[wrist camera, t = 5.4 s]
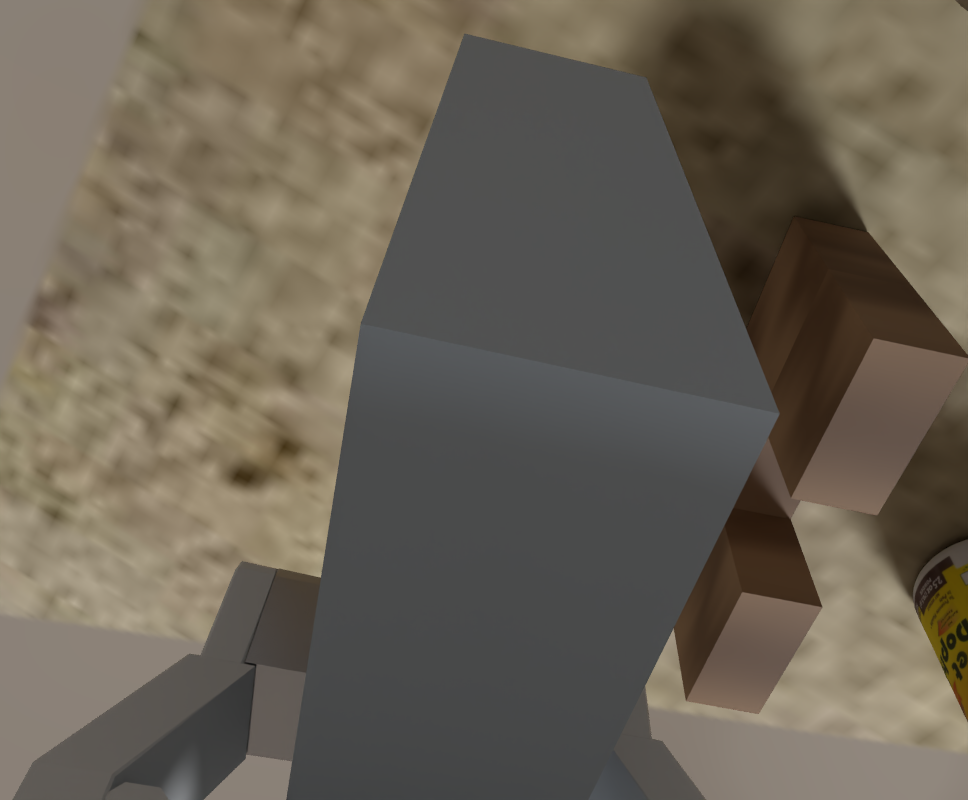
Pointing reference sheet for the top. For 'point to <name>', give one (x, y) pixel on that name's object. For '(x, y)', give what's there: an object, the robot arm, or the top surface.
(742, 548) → the walnut board
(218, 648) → the robot arm
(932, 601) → the supplement bottle
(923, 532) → the top surface
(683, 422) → the slate board
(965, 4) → the ceramic mug
